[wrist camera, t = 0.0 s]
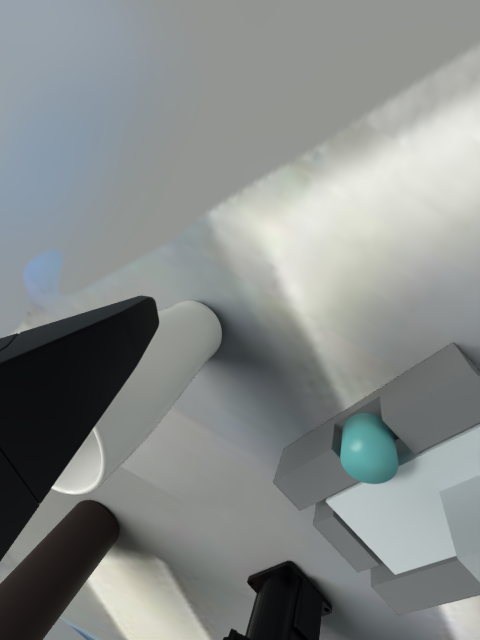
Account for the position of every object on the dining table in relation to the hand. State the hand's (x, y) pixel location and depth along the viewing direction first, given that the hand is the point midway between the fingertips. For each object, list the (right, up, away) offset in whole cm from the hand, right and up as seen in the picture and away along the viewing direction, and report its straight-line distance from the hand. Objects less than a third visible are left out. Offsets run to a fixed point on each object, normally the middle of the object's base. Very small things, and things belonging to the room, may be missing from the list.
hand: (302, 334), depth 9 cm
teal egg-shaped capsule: (+7, -8, +14) cm, 18 cm away
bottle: (-20, -25, +33) cm, 46 cm away
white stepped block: (+13, -11, +15) cm, 22 cm away
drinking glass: (-5, 0, +20) cm, 20 cm away
